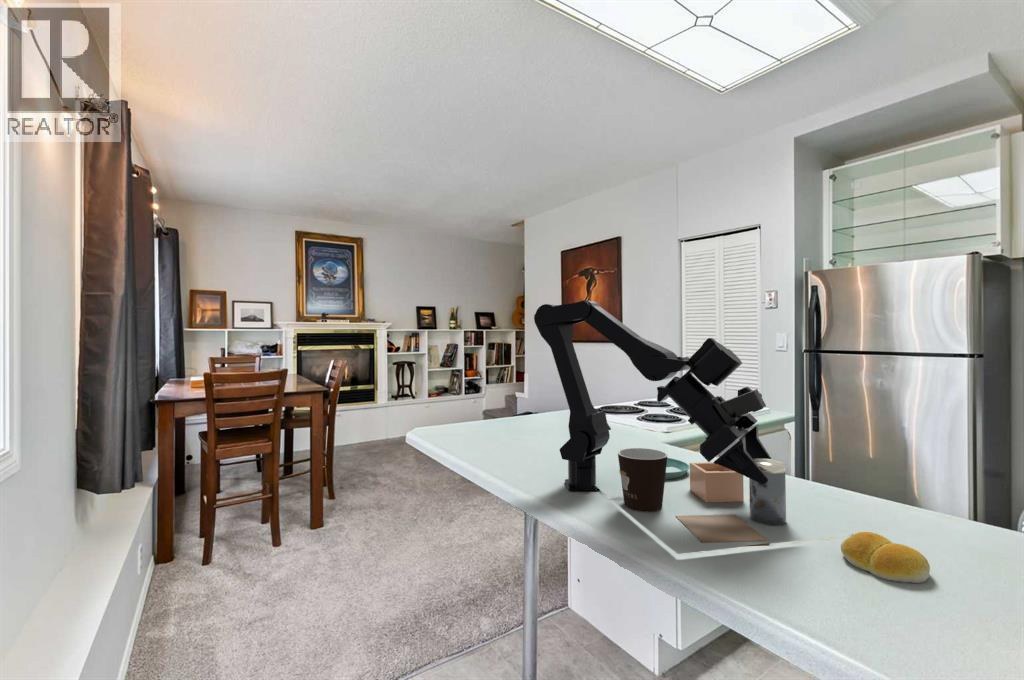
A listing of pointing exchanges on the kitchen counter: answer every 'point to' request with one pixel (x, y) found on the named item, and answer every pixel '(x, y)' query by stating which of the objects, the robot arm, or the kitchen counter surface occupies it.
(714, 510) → the kitchen counter surface
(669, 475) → the saucer
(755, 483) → the tea tin
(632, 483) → the brown coffee cup
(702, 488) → the planter
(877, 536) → the bread roll
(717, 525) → the coaster
